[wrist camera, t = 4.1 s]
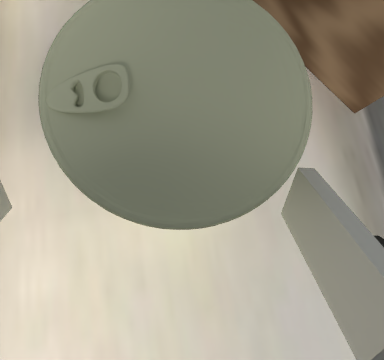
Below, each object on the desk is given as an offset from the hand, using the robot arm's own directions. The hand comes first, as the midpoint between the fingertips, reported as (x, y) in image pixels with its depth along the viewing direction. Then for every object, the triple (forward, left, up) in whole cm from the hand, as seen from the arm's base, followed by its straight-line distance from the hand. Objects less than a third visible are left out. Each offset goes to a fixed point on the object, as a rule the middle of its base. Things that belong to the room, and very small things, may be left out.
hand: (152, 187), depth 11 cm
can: (+1, -3, -8) cm, 9 cm away
